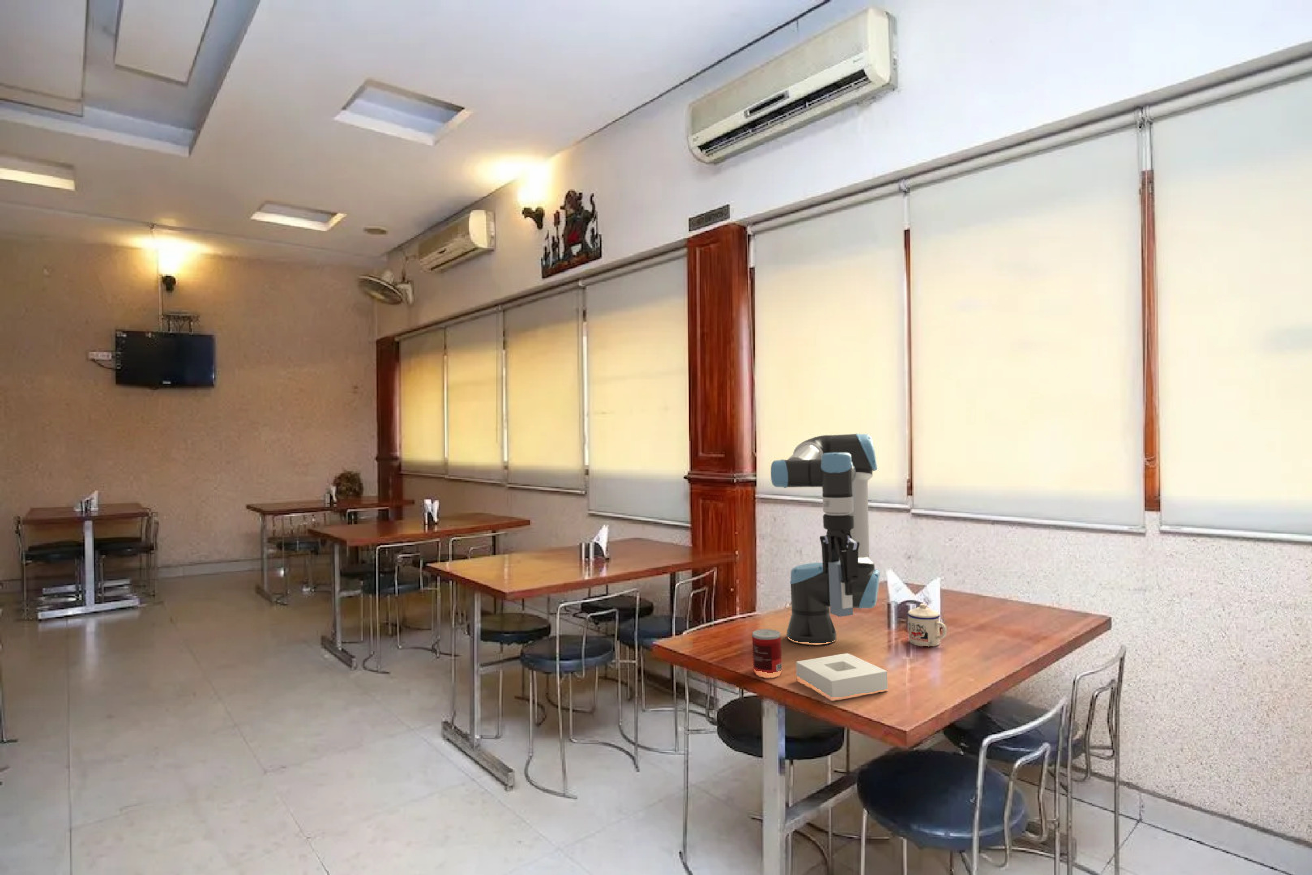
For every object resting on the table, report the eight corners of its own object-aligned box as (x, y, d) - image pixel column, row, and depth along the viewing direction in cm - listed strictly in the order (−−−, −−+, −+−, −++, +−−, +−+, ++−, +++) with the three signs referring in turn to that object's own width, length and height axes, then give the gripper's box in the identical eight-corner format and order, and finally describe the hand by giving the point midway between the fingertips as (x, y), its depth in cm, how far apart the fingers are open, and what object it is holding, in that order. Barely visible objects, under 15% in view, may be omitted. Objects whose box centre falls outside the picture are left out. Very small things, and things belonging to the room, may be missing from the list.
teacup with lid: (902, 642, 209) (900, 603, 209) (920, 636, 214) (919, 599, 214) (937, 651, 199) (936, 611, 199) (955, 645, 204) (954, 606, 204)
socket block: (796, 680, 179) (796, 661, 179) (848, 671, 185) (847, 653, 185) (832, 701, 164) (832, 681, 164) (887, 691, 170) (887, 671, 170)
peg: (830, 613, 176) (828, 562, 176) (843, 611, 177) (841, 560, 177) (839, 616, 172) (838, 564, 172) (853, 614, 173) (851, 563, 173)
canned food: (778, 668, 190) (777, 628, 190) (785, 678, 182) (783, 636, 182) (751, 669, 189) (749, 629, 189) (756, 679, 181) (754, 637, 181)
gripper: (806, 511, 181) (809, 600, 181) (846, 517, 165) (850, 615, 165) (830, 509, 184) (833, 596, 184) (872, 515, 168) (875, 611, 168)
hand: (841, 605), depth 175 cm, fingers closed on peg, 4 cm apart
